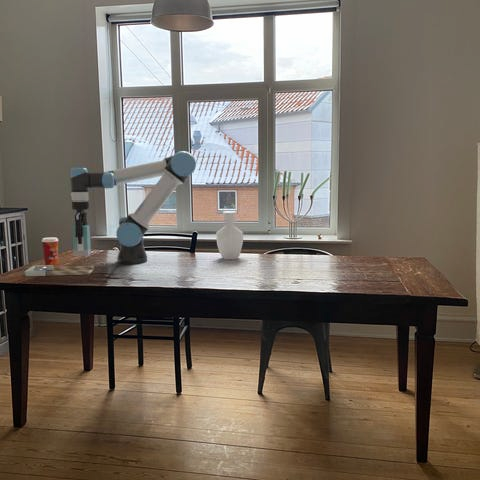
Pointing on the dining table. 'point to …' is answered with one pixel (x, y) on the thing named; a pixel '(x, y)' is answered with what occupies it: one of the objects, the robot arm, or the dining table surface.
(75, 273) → the slot board
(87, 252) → the teal tall block
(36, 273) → the tray
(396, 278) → the dining table surface
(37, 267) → the chip
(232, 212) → the vase
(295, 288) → the dining table surface
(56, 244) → the paper cup
